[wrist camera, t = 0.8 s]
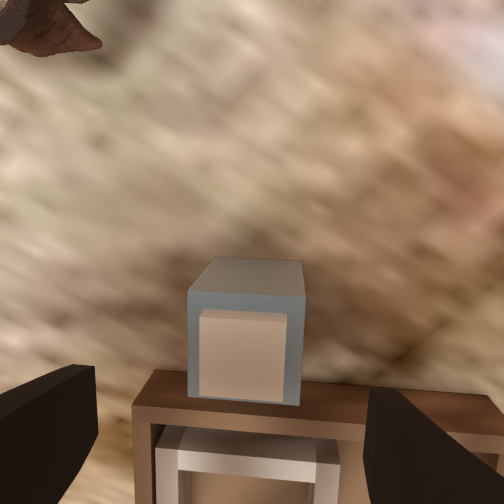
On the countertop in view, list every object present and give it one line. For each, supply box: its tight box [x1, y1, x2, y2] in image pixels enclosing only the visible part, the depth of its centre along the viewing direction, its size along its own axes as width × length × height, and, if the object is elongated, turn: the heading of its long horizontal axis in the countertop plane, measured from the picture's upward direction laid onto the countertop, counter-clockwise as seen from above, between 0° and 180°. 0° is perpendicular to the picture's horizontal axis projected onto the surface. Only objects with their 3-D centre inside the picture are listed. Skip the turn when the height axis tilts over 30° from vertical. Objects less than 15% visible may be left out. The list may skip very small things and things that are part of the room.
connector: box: [187, 257, 306, 406], centre depth 16 cm, size 4×4×6 cm
